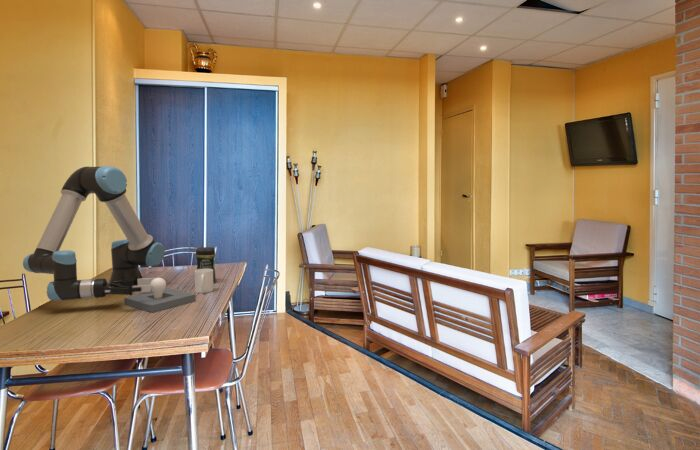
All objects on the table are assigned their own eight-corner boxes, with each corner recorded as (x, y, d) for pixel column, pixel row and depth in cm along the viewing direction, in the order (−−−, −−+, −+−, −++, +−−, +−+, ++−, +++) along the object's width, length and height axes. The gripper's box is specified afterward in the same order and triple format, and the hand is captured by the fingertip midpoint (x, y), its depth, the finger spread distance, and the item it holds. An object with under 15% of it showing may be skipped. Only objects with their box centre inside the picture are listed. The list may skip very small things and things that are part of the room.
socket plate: (124, 304, 170) (124, 297, 170) (168, 294, 187) (167, 288, 187) (152, 312, 160) (151, 305, 159) (195, 301, 176) (195, 294, 176)
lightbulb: (153, 301, 173) (154, 275, 172) (168, 301, 174) (168, 276, 173) (147, 305, 167) (147, 279, 166) (162, 306, 168) (162, 279, 166)
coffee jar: (195, 284, 206) (194, 248, 204) (197, 281, 214) (196, 246, 212) (215, 284, 208) (214, 248, 206) (216, 280, 216) (215, 246, 214)
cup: (214, 288, 199) (213, 268, 198) (212, 294, 187) (211, 273, 186) (196, 289, 197) (195, 268, 196) (192, 295, 185) (192, 273, 184)
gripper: (102, 290, 176) (155, 286, 183) (86, 305, 153) (149, 300, 160) (101, 273, 175) (155, 270, 183) (85, 286, 152) (148, 282, 159)
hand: (152, 284), depth 171 cm, fingers open, 13 cm apart
